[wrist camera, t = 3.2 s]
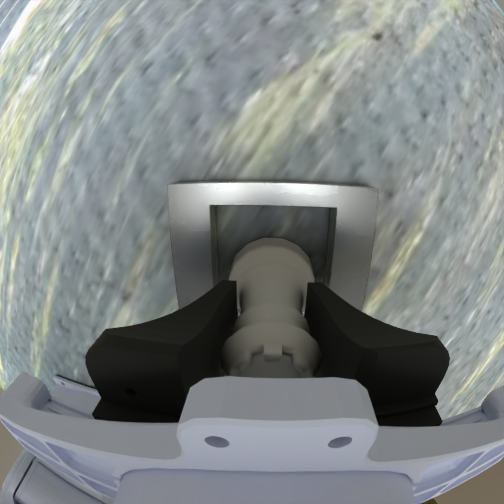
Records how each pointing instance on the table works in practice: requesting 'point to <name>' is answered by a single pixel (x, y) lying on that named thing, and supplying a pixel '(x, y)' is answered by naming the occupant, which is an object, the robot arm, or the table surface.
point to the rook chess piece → (271, 313)
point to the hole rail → (271, 193)
